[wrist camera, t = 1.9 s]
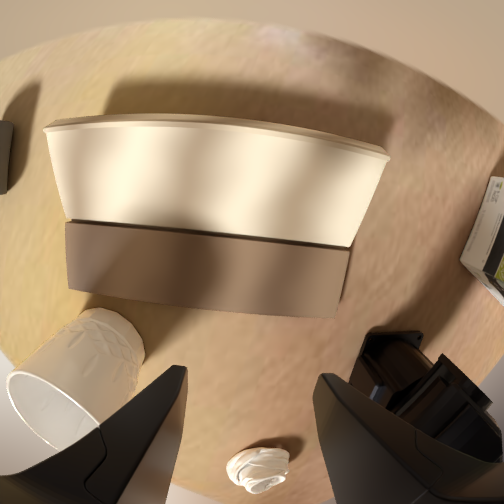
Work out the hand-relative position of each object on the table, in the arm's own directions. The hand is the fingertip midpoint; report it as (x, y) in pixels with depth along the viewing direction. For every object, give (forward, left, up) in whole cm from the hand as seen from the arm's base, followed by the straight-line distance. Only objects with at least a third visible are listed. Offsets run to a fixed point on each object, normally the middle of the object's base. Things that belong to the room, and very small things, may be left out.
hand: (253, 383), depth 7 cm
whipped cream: (-5, +23, -12) cm, 27 cm away
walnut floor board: (+3, +1, -12) cm, 12 cm away
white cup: (+10, +8, -12) cm, 18 cm away
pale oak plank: (+3, -6, -10) cm, 12 cm away
